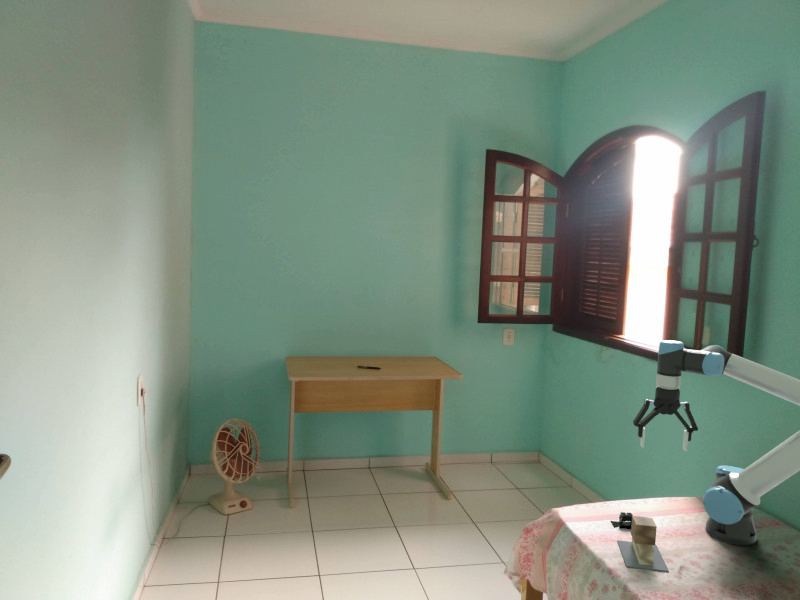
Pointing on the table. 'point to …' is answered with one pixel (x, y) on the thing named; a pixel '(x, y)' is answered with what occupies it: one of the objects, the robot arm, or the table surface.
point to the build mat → (633, 562)
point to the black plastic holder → (621, 524)
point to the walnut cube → (643, 530)
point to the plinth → (643, 553)
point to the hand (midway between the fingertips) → (663, 448)
